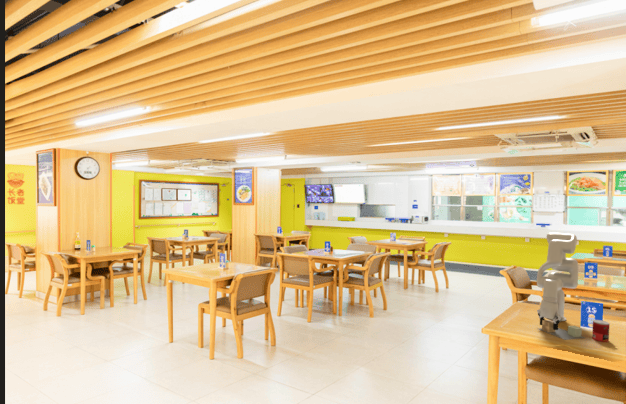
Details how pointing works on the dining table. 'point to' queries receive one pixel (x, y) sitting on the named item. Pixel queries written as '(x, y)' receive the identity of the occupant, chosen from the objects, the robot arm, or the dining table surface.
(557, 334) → the mat
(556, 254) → the robot arm
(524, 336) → the dining table surface
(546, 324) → the oak block
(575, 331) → the sage block
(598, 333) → the canned food
